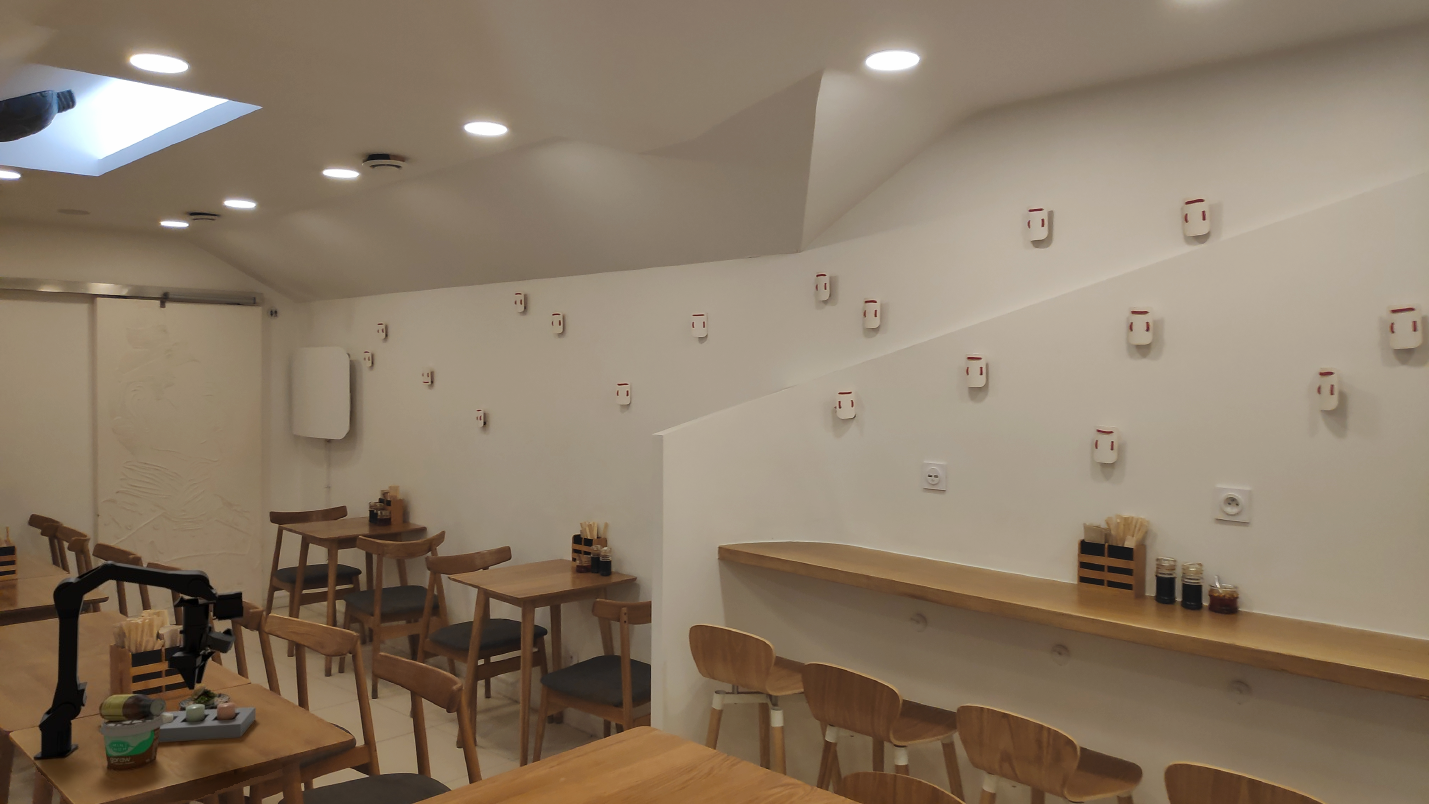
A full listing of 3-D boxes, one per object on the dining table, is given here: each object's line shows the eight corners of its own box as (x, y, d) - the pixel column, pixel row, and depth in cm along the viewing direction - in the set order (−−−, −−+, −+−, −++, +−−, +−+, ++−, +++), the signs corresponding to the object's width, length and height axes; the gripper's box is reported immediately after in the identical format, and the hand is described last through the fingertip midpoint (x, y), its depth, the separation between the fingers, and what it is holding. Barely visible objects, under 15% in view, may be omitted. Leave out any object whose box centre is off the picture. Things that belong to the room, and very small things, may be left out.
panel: (240, 737, 215) (240, 723, 215) (129, 743, 210) (130, 730, 210) (255, 719, 227) (255, 706, 227) (150, 725, 222) (151, 712, 222)
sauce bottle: (126, 709, 229) (176, 711, 221) (103, 725, 224) (153, 728, 216) (115, 688, 228) (165, 689, 219) (92, 703, 222) (142, 705, 214)
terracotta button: (232, 719, 218) (232, 707, 218) (214, 720, 217) (214, 708, 217) (237, 713, 222) (237, 701, 222) (220, 714, 221) (220, 702, 221)
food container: (89, 775, 193) (90, 729, 193) (101, 763, 199) (101, 719, 199) (154, 769, 196) (154, 724, 196) (163, 758, 202) (163, 714, 202)
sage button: (201, 721, 217) (201, 709, 217) (183, 722, 216) (183, 710, 216) (206, 715, 221) (207, 703, 221) (189, 716, 220) (189, 704, 220)
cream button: (169, 731, 215) (169, 718, 215) (151, 732, 215) (151, 719, 215) (175, 725, 219) (175, 712, 219) (157, 726, 219) (157, 713, 219)
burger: (208, 716, 229) (208, 687, 229) (167, 713, 231) (167, 684, 231) (240, 700, 241) (240, 673, 241) (201, 698, 243) (201, 670, 243)
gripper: (219, 631, 211) (218, 697, 211) (243, 612, 229) (242, 673, 229) (167, 633, 209) (166, 700, 209) (195, 614, 227) (195, 675, 227)
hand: (195, 686), depth 218 cm, fingers open, 4 cm apart
